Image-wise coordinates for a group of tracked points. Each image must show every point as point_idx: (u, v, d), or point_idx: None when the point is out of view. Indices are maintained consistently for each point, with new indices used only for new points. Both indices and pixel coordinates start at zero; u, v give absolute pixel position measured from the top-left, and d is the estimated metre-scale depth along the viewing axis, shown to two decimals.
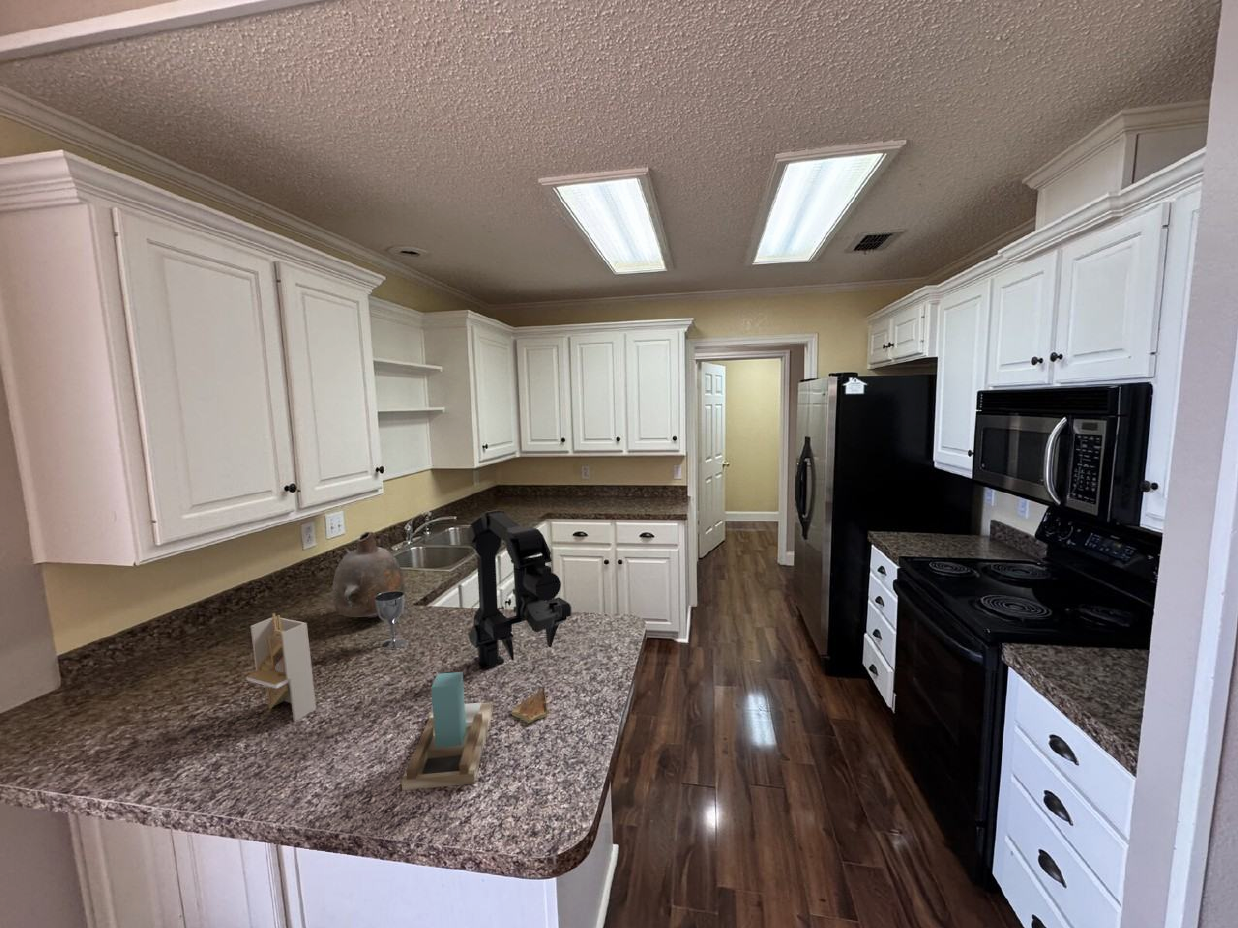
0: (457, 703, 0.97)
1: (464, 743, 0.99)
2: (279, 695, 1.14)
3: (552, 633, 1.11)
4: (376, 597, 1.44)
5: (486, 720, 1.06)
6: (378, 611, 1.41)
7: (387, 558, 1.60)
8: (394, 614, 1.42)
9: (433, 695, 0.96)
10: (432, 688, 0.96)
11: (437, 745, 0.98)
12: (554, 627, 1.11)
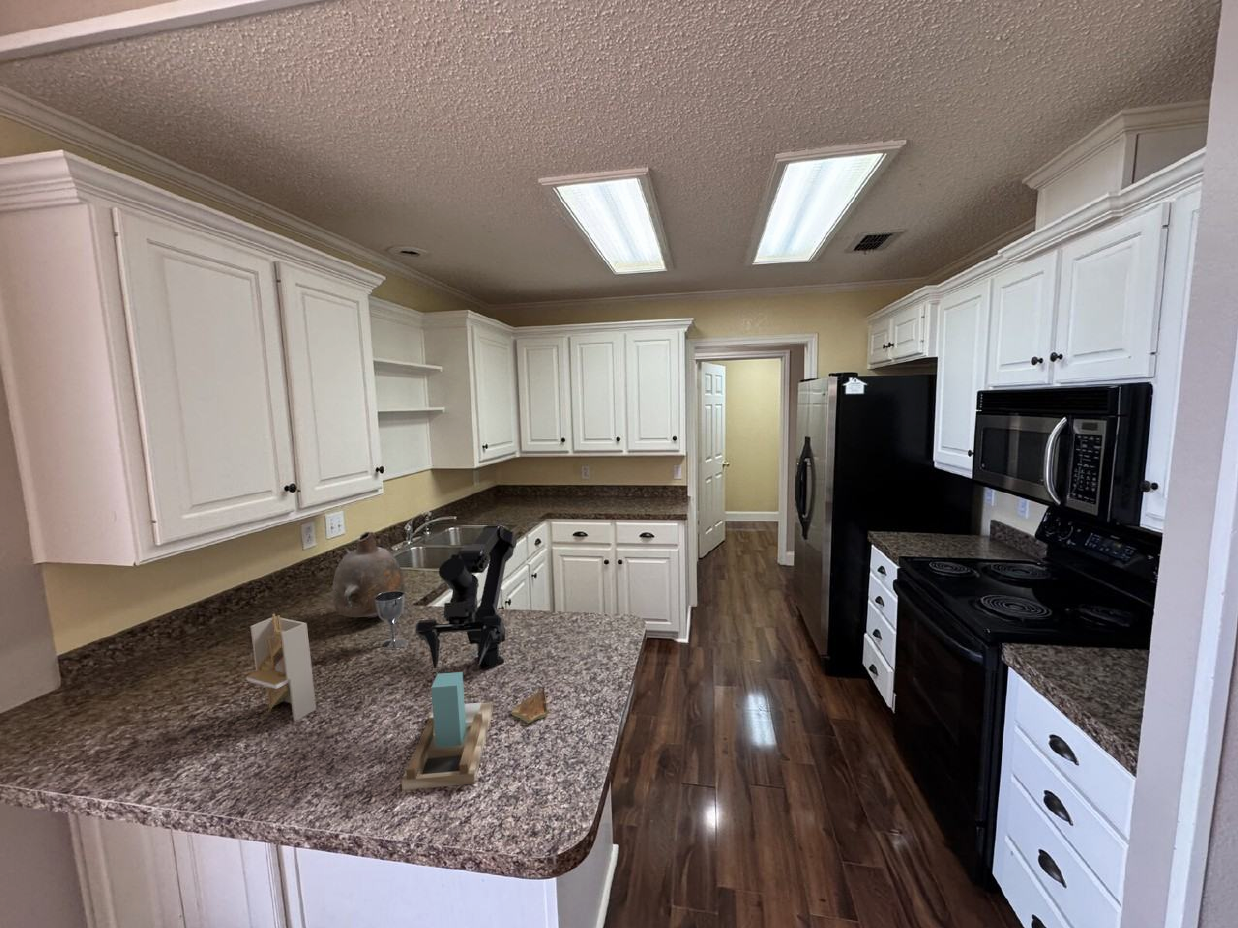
0: (457, 703, 0.97)
1: (464, 743, 0.99)
2: (279, 695, 1.13)
3: (480, 646, 1.09)
4: (376, 597, 1.44)
5: (486, 720, 1.06)
6: (378, 611, 1.41)
7: (387, 558, 1.60)
8: (394, 614, 1.42)
9: (433, 695, 0.96)
10: (432, 688, 0.96)
11: (437, 745, 0.98)
12: (482, 639, 1.09)
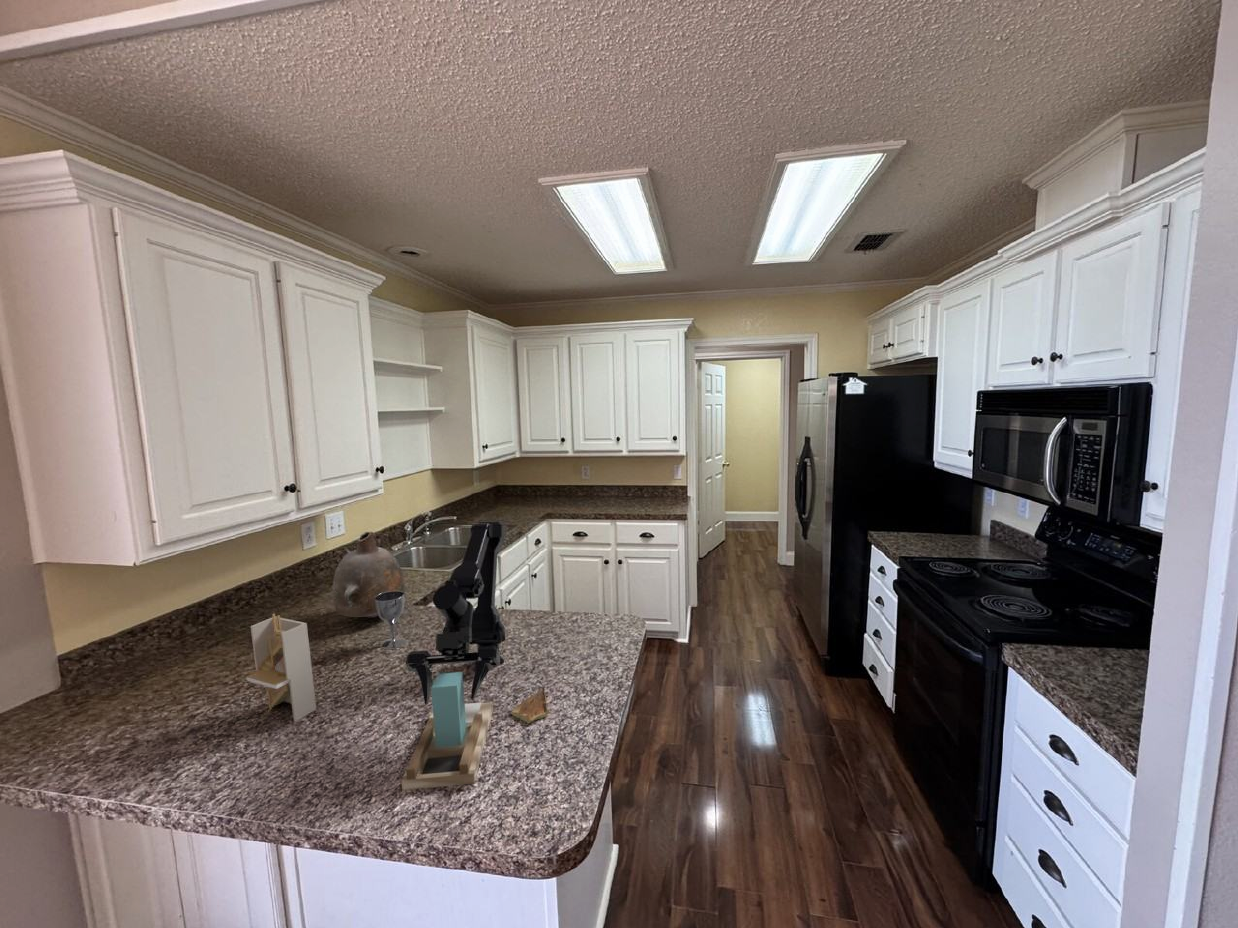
0: (457, 703, 0.97)
1: (464, 743, 0.99)
2: (279, 695, 1.13)
3: (474, 680, 1.02)
4: (376, 597, 1.44)
5: (486, 720, 1.06)
6: (378, 611, 1.41)
7: (387, 558, 1.60)
8: (394, 614, 1.42)
9: (433, 695, 0.96)
10: (432, 688, 0.96)
11: (437, 745, 0.98)
12: (476, 672, 1.02)
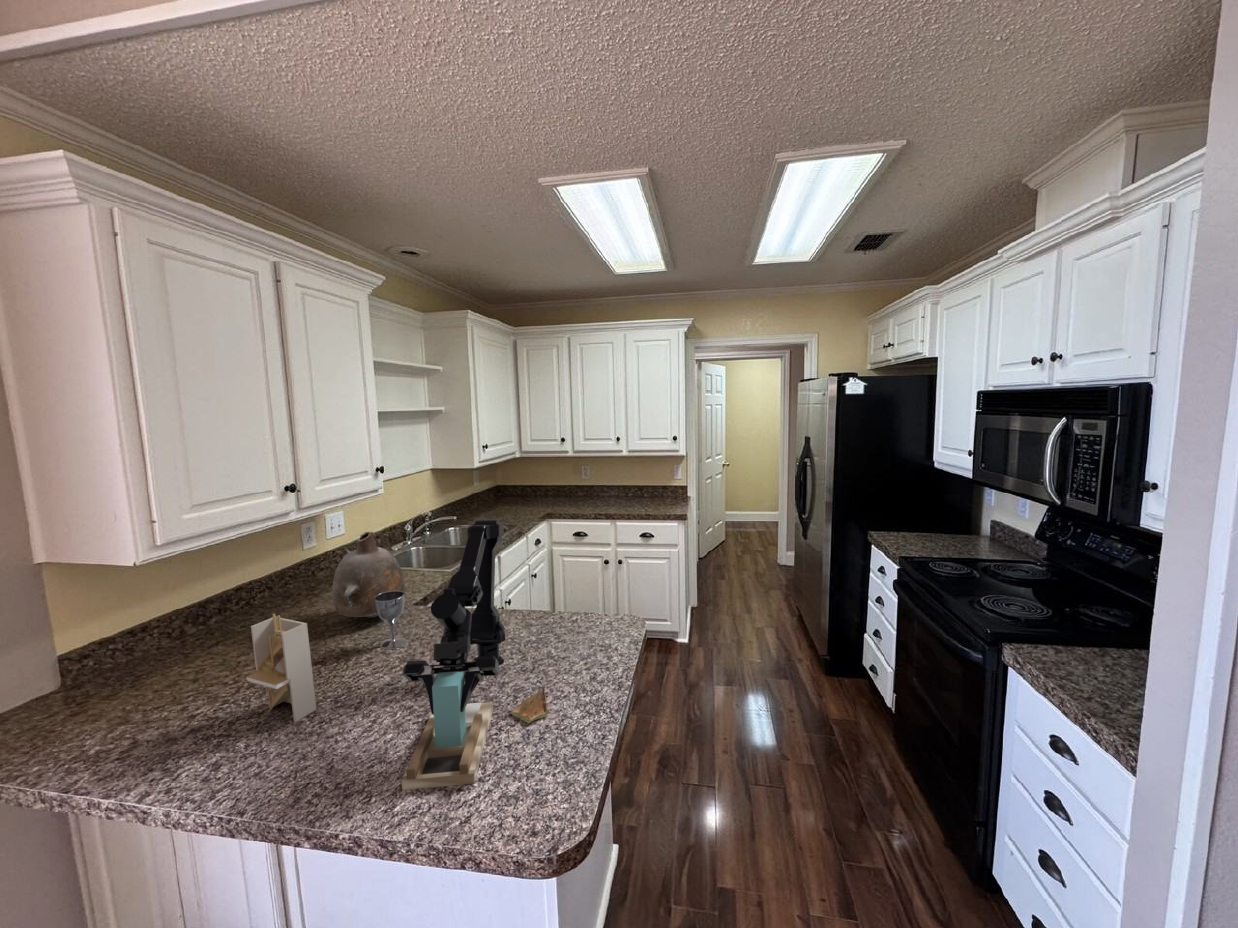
0: (458, 703, 0.97)
1: (464, 743, 0.99)
2: (279, 695, 1.13)
3: (464, 691, 1.00)
4: (376, 597, 1.44)
5: (486, 720, 1.06)
6: (378, 611, 1.41)
7: (387, 558, 1.60)
8: (394, 614, 1.42)
9: (434, 695, 0.96)
10: (433, 688, 0.96)
11: (437, 745, 0.98)
12: (466, 683, 1.01)
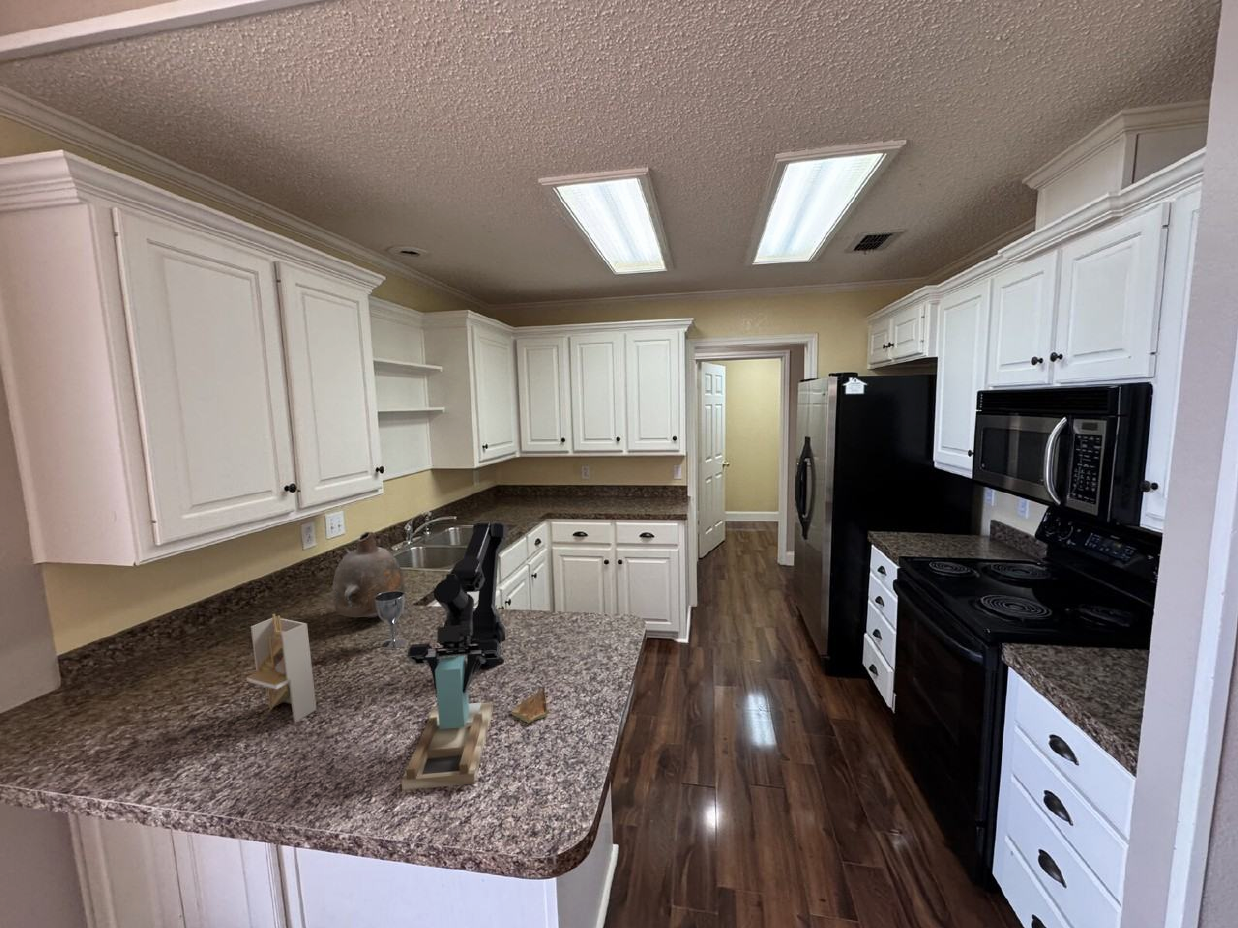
0: (460, 685, 1.00)
1: (464, 743, 0.99)
2: (279, 696, 1.13)
3: (466, 673, 1.03)
4: (376, 597, 1.44)
5: (486, 720, 1.06)
6: (378, 611, 1.41)
7: (387, 558, 1.60)
8: (394, 614, 1.42)
9: (437, 678, 0.99)
10: (436, 671, 0.99)
11: (441, 727, 1.01)
12: (468, 665, 1.04)
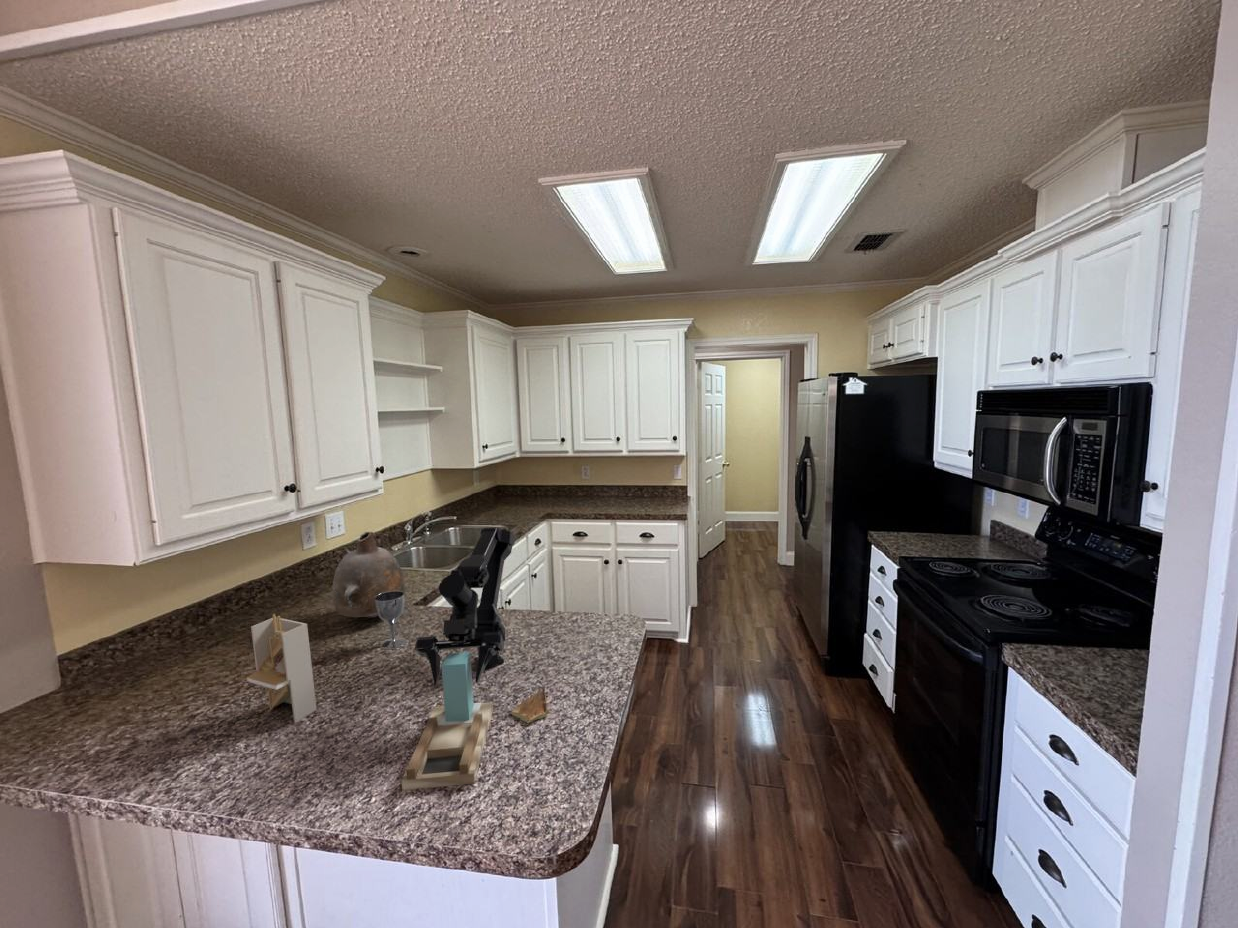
0: (465, 680, 1.05)
1: (464, 743, 0.99)
2: (280, 696, 1.13)
3: (478, 664, 1.08)
4: (376, 597, 1.44)
5: (486, 720, 1.06)
6: (378, 611, 1.41)
7: (387, 558, 1.60)
8: (394, 614, 1.42)
9: (443, 672, 1.04)
10: (442, 666, 1.04)
11: (446, 719, 1.06)
12: (481, 656, 1.08)
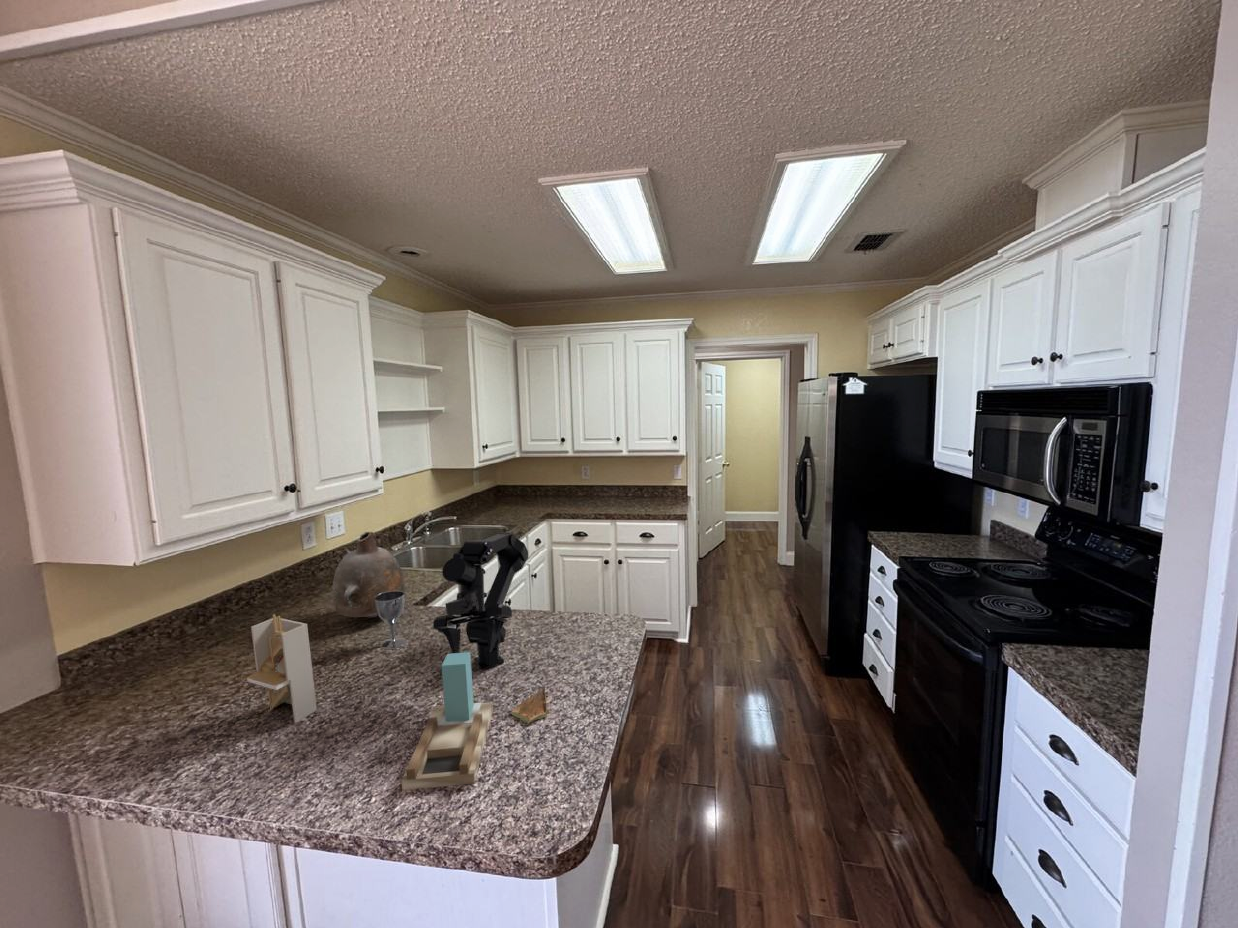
0: (465, 680, 1.05)
1: (464, 743, 0.99)
2: (280, 696, 1.13)
3: (488, 634, 1.16)
4: (376, 597, 1.44)
5: (486, 720, 1.06)
6: (378, 611, 1.41)
7: (387, 558, 1.60)
8: (394, 614, 1.42)
9: (443, 673, 1.04)
10: (442, 666, 1.04)
11: (446, 720, 1.06)
12: (489, 628, 1.16)
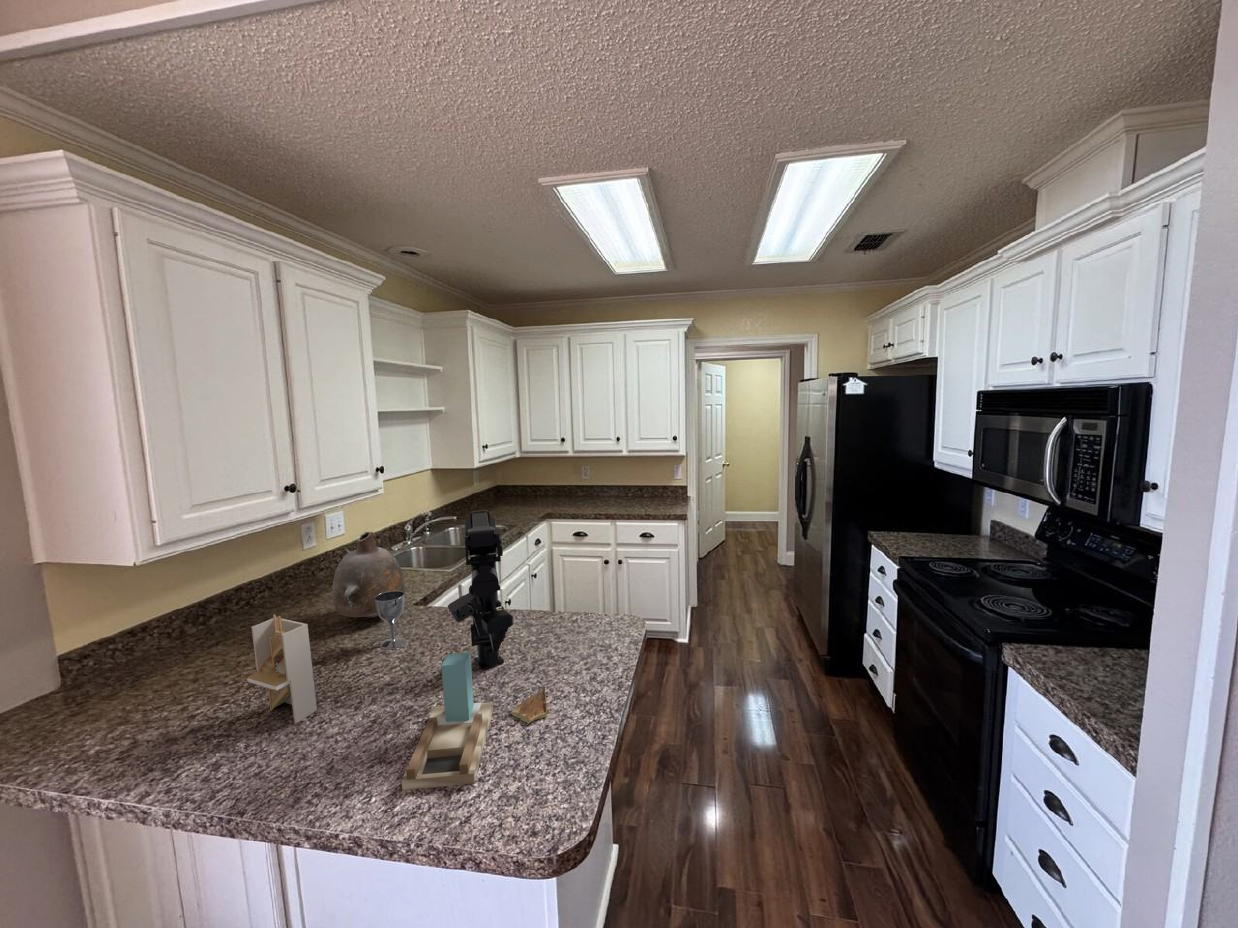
0: (465, 680, 1.05)
1: (464, 743, 0.99)
2: (280, 696, 1.13)
3: (490, 639, 1.12)
4: (376, 597, 1.44)
5: (486, 720, 1.06)
6: (378, 611, 1.41)
7: (387, 558, 1.60)
8: (394, 614, 1.42)
9: (443, 673, 1.04)
10: (442, 666, 1.04)
11: (446, 720, 1.06)
12: (489, 634, 1.12)
